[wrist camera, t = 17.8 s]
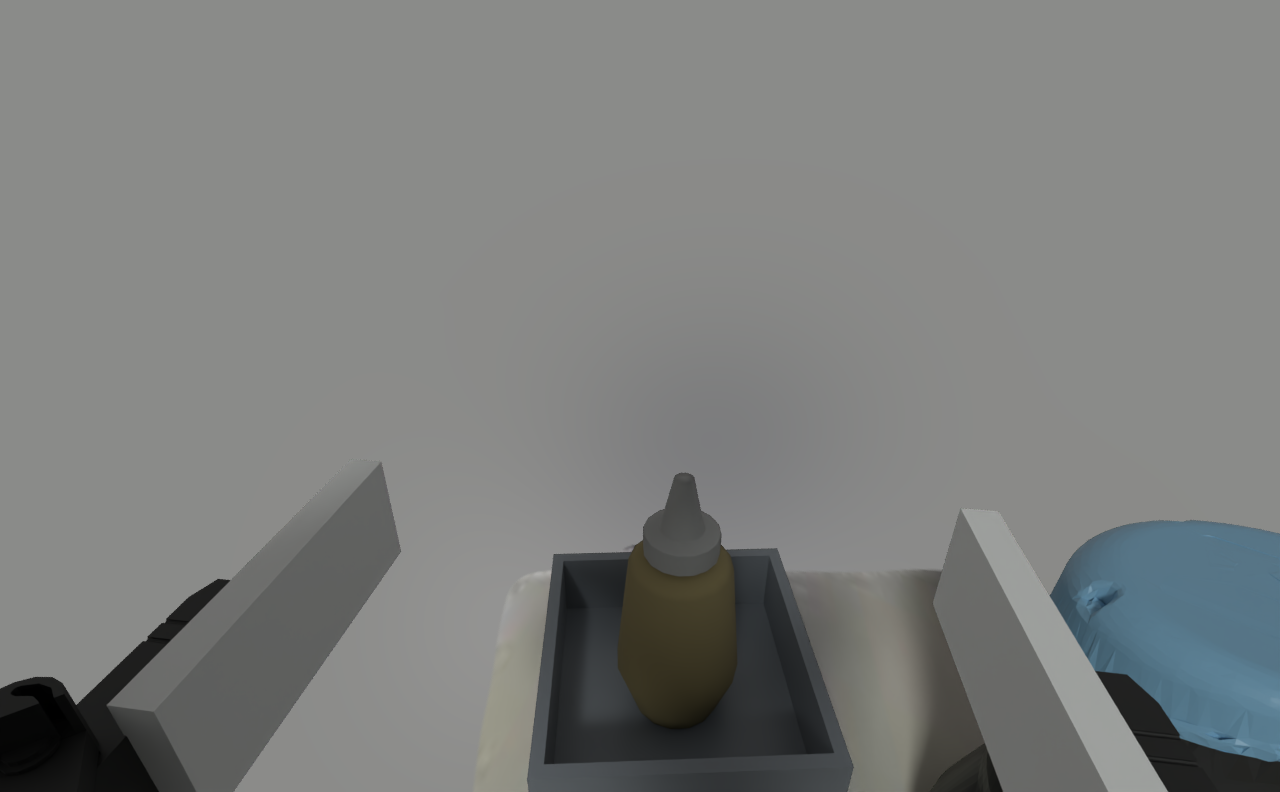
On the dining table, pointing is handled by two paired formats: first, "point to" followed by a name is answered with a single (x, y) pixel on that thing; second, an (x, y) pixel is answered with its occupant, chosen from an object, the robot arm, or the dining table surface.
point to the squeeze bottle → (678, 614)
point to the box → (707, 752)
